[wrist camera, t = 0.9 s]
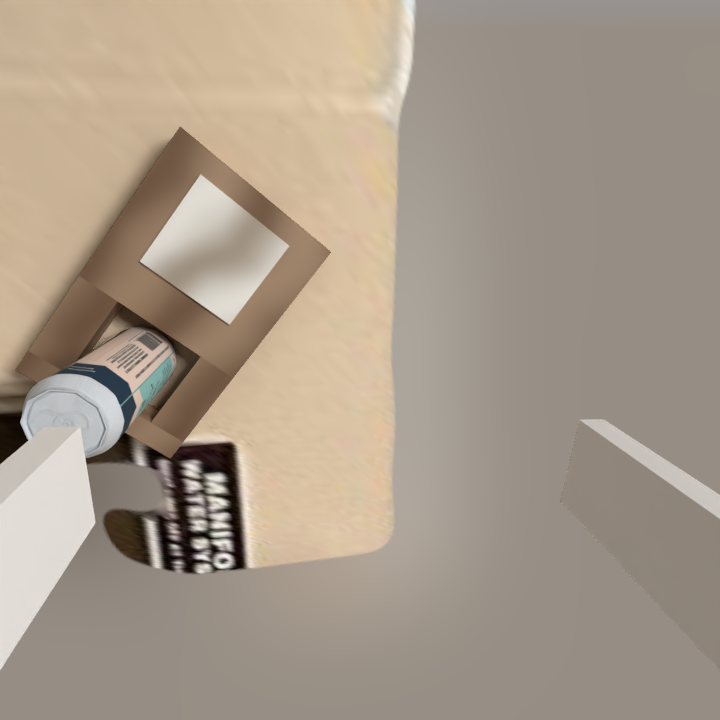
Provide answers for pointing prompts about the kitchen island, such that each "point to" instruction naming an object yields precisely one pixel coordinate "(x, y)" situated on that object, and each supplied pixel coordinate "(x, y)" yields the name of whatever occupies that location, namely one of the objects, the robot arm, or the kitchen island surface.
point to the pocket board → (185, 281)
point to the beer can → (102, 389)
